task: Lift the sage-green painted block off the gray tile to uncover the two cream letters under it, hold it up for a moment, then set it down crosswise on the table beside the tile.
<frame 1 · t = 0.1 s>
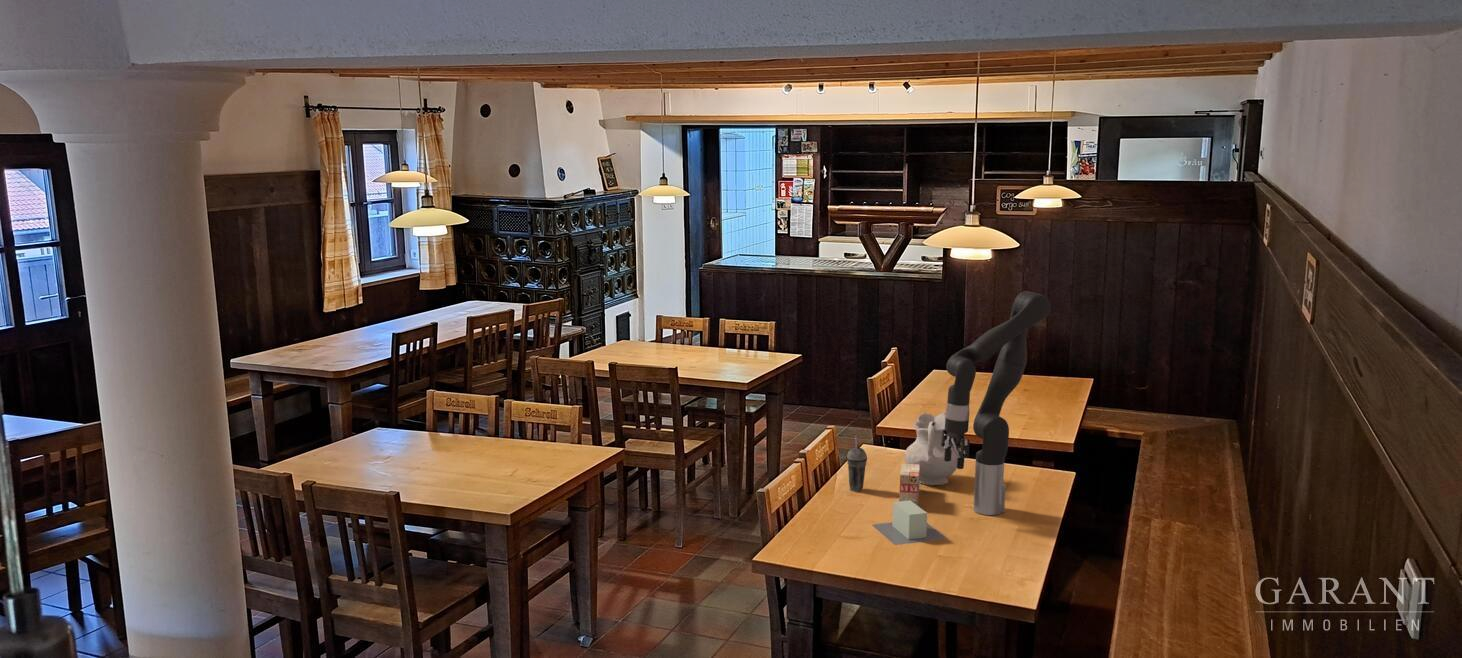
hand: (953, 464, 344), 17 cm above the table, tool pointing down, fingers open, 8 cm apart
sage block: (909, 531, 331), resting on gray tile
ceramic pitcher: (931, 482, 381), on the table
beverage cup: (856, 490, 372), on the table
stack of blocks: (909, 499, 363), on the table
gray tile: (909, 532, 331), on the table
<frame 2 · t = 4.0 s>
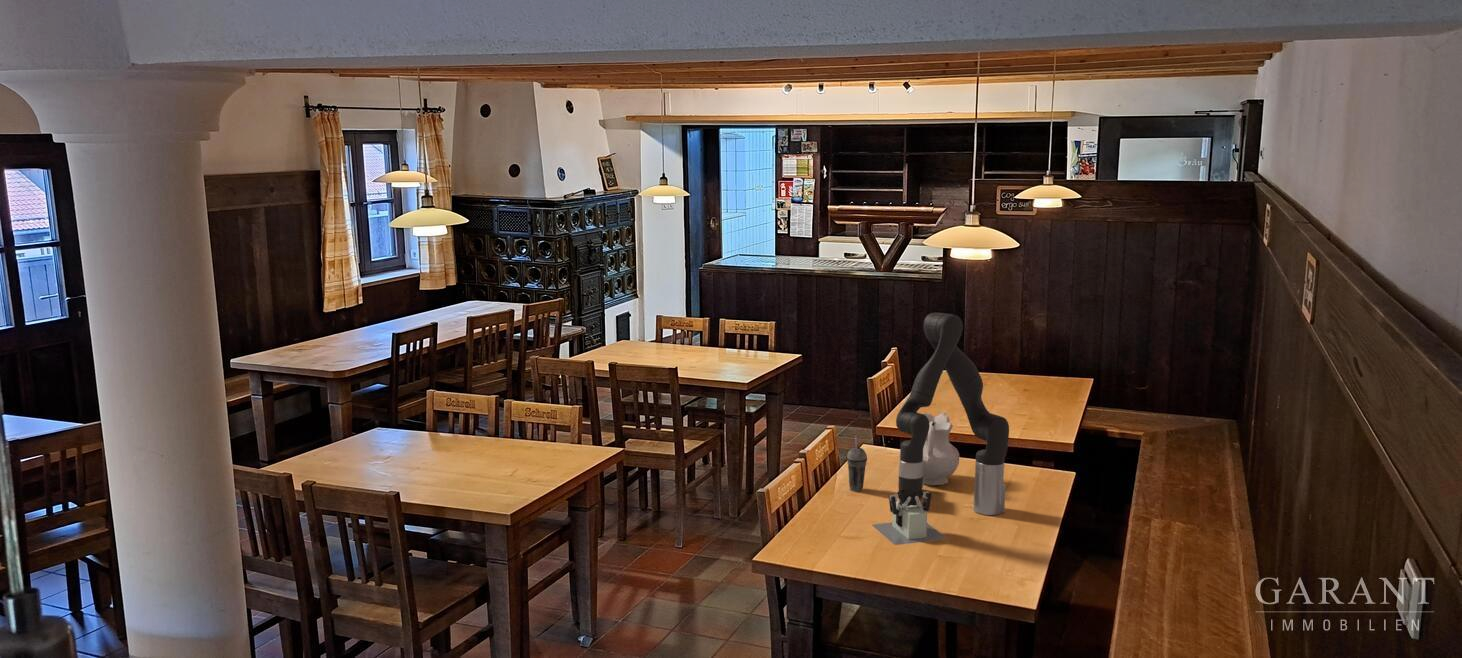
hand: (909, 524, 331), 3 cm above the table, tool pointing down, fingers closed on sage block, 6 cm apart
sage block: (909, 531, 331), resting on gray tile, touching gripper
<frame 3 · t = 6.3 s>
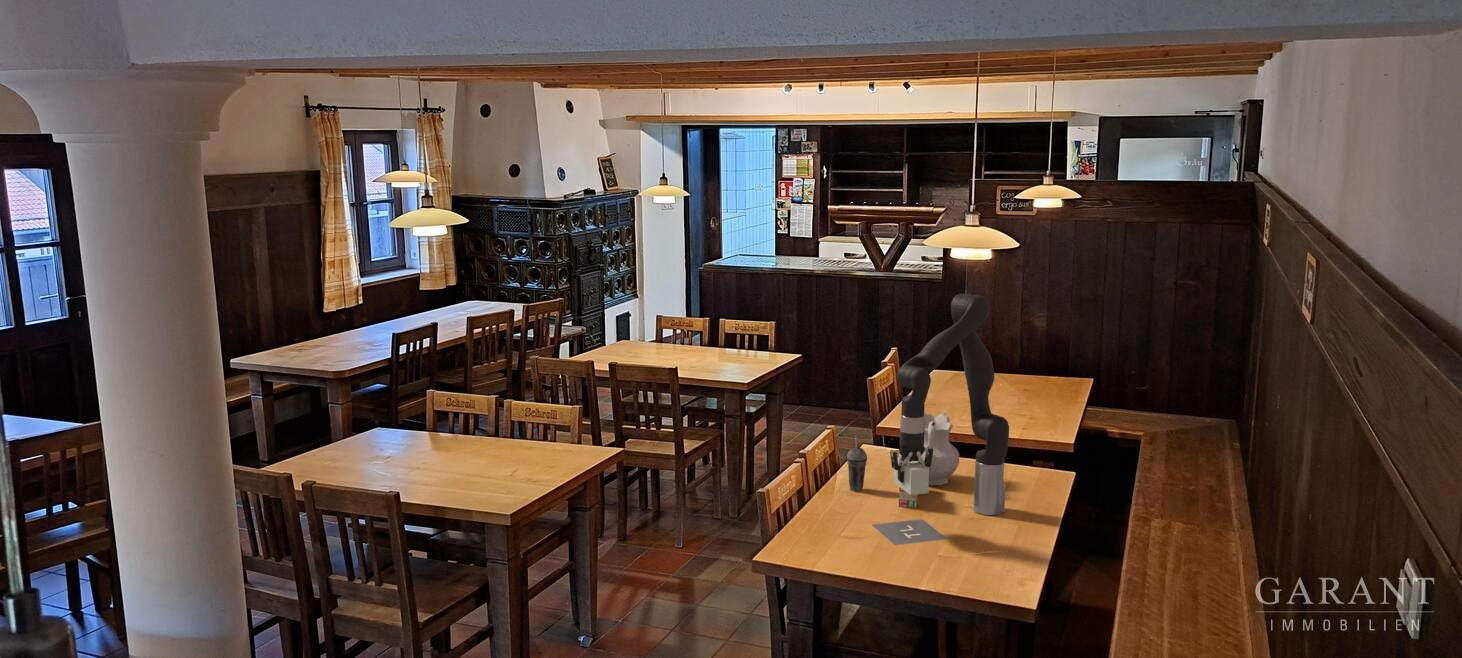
hand: (911, 480, 328), 17 cm above the table, tool pointing down, fingers closed on sage block, 6 cm apart
sage block: (910, 487, 329), point 15 cm above the table, touching gripper
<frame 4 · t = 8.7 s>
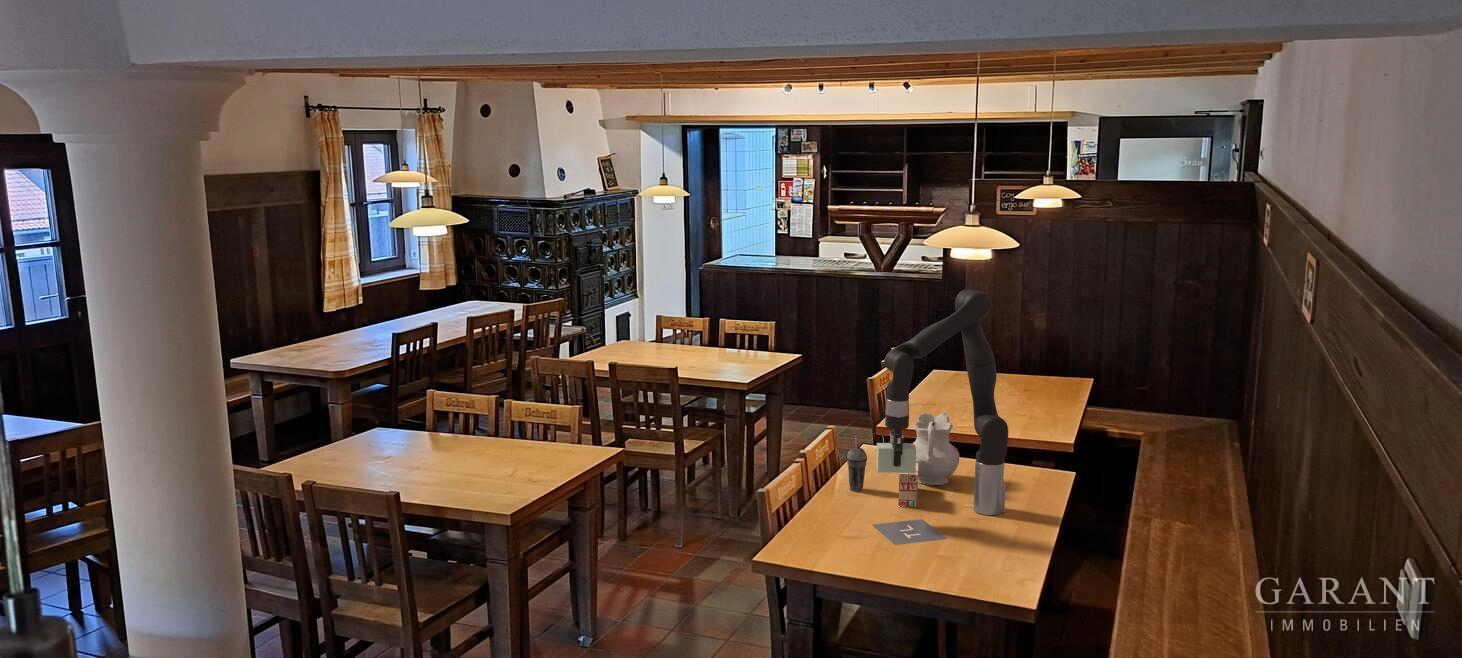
hand: (895, 463, 338), 20 cm above the table, tool pointing down, fingers closed on sage block, 6 cm apart
sage block: (895, 469, 339), point 17 cm above the table, touching gripper
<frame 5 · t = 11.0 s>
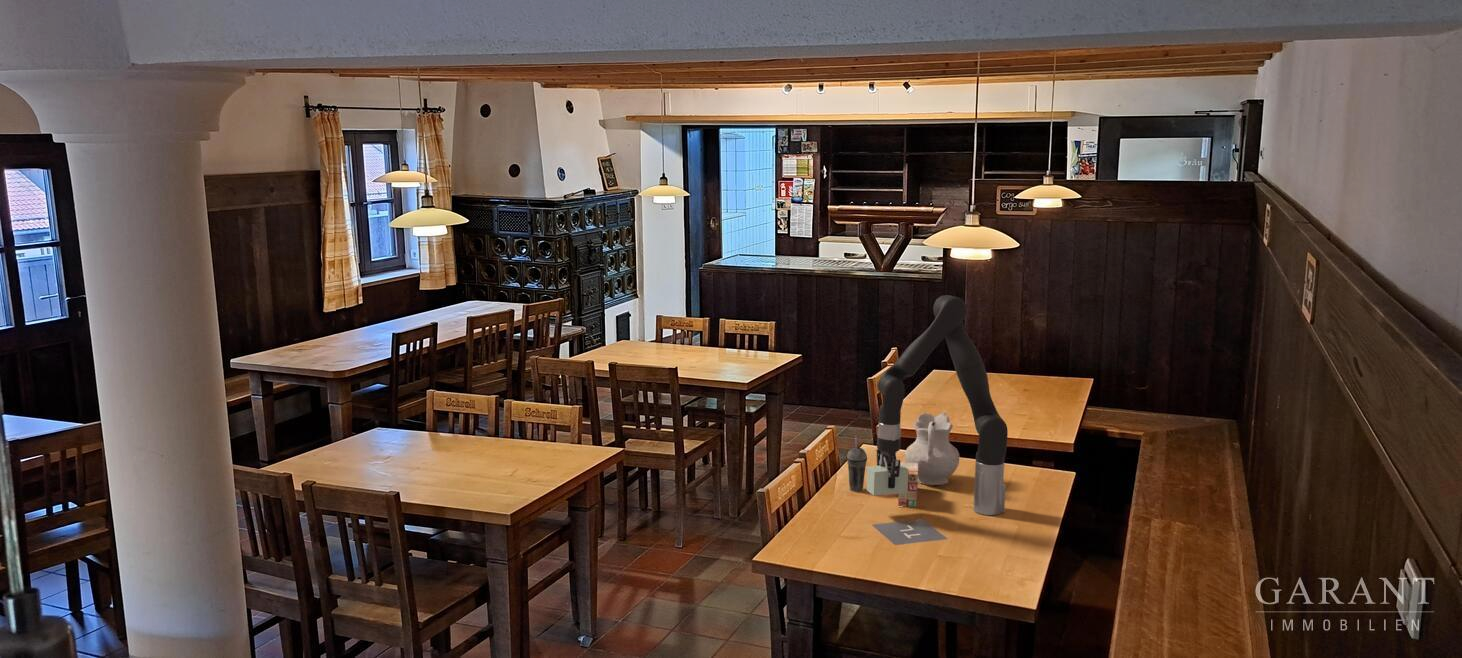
hand: (887, 484, 346), 10 cm above the table, tool pointing down, fingers closed on sage block, 6 cm apart
sage block: (886, 491, 346), point 8 cm above the table, touching gripper
when the fingers open (4 cm above the table, at t = 13.2 s): sage block drops 1 cm, on the table.
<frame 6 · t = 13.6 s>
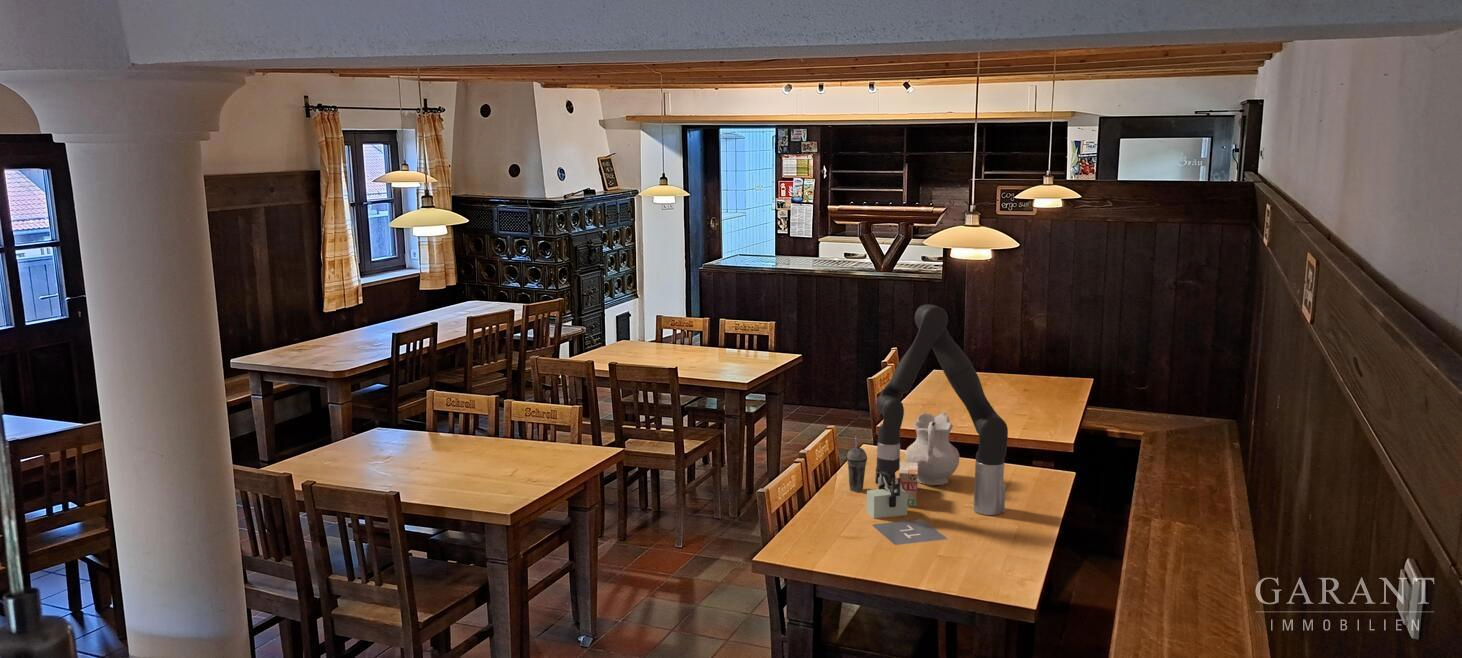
hand: (887, 502, 347), 4 cm above the table, tool pointing down, fingers open, 8 cm apart
sage block: (886, 514, 347), on the table
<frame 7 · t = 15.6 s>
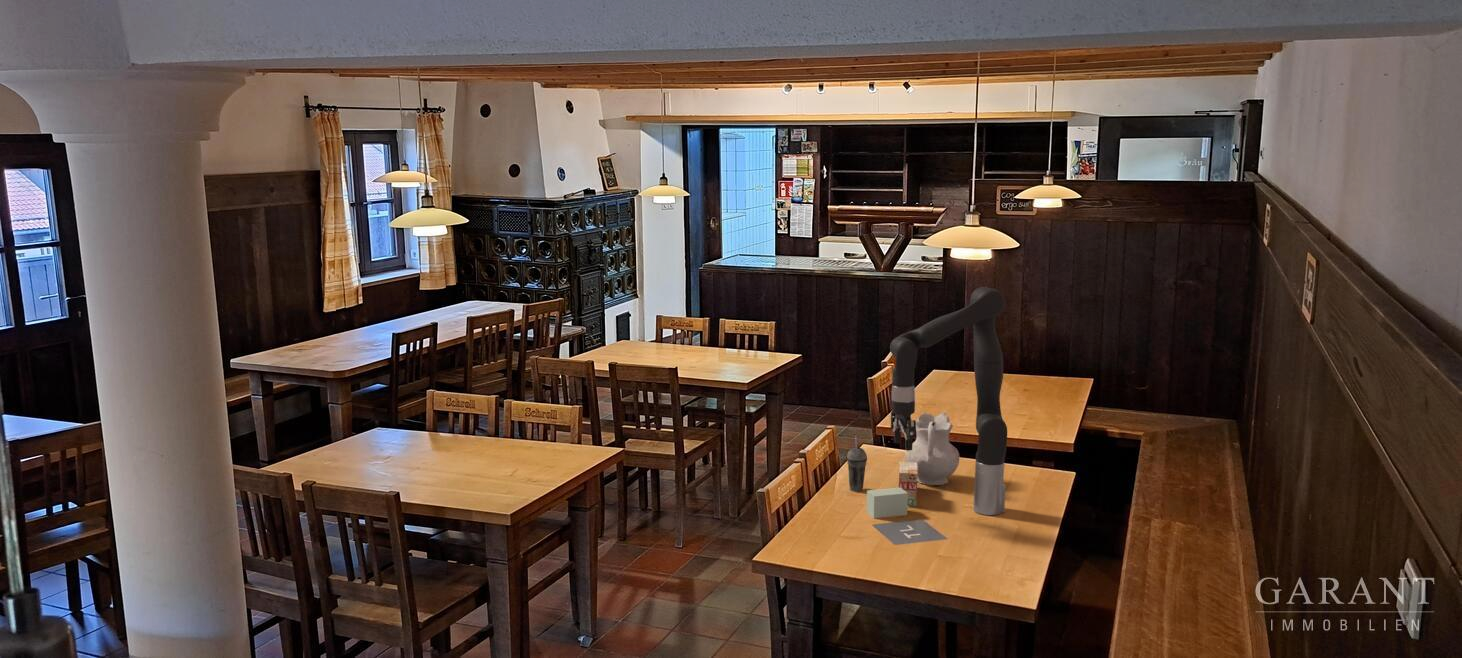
hand: (903, 446, 343), 23 cm above the table, tool pointing down, fingers open, 8 cm apart
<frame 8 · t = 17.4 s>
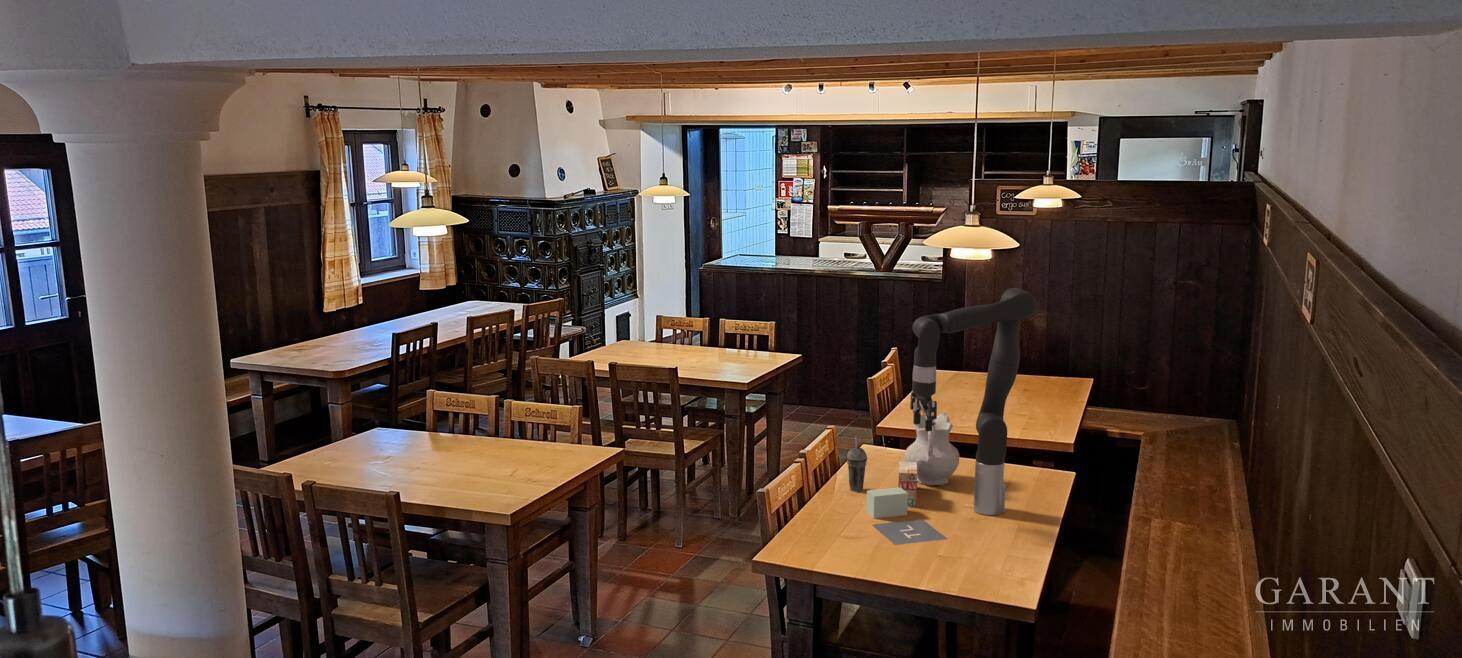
hand: (922, 427, 341), 30 cm above the table, tool pointing down, fingers open, 8 cm apart
at the end: sage block inside the target area (0.0 cm from its centre), on the table; sage block tilted 0°; sage block touching table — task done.
